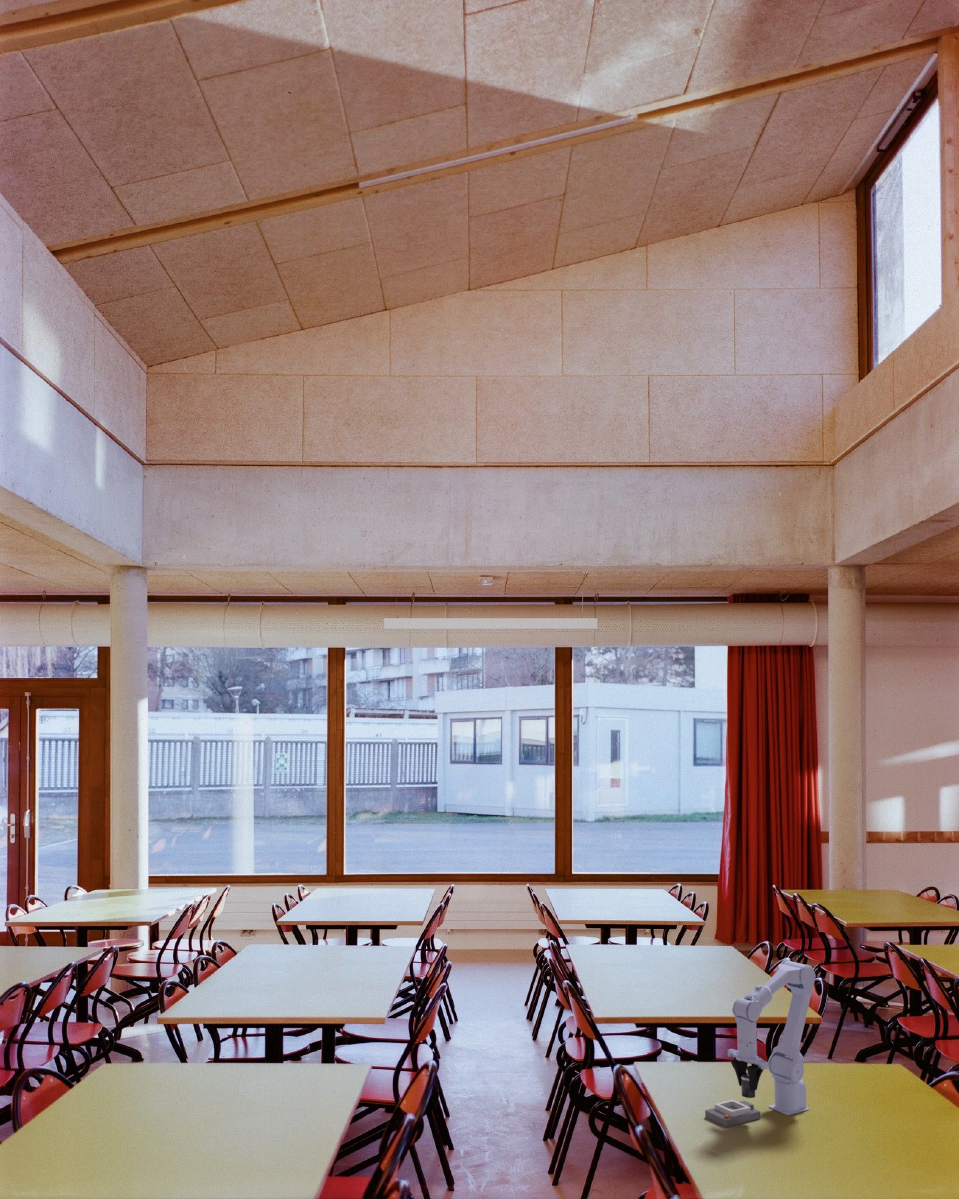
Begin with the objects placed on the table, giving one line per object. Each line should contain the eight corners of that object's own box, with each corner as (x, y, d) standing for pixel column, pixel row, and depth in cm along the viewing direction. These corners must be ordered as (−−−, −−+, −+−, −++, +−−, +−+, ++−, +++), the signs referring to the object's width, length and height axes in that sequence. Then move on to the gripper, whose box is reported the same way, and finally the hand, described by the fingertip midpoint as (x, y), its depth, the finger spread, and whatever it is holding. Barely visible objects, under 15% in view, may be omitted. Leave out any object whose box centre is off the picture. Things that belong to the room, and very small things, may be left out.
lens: (749, 1092, 309) (748, 1071, 310) (758, 1096, 305) (757, 1075, 306) (738, 1094, 307) (738, 1073, 308) (747, 1098, 303) (747, 1077, 304)
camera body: (738, 1108, 315) (738, 1096, 315) (760, 1118, 307) (760, 1106, 307) (705, 1117, 308) (705, 1105, 308) (726, 1127, 300) (726, 1114, 300)
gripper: (720, 1036, 312) (721, 1082, 310) (755, 1049, 300) (756, 1097, 298) (736, 1033, 316) (737, 1078, 314) (772, 1045, 304) (773, 1093, 302)
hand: (748, 1087), depth 306 cm, fingers closed on lens, 4 cm apart
